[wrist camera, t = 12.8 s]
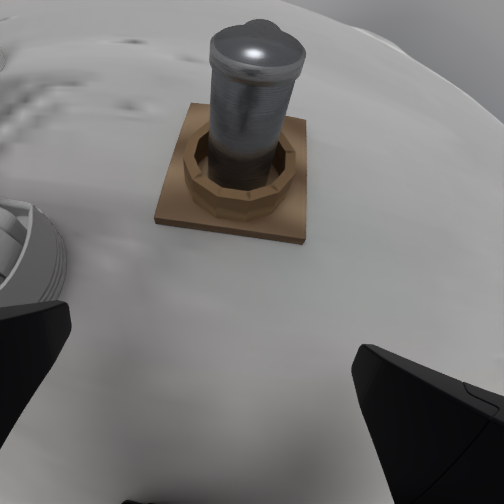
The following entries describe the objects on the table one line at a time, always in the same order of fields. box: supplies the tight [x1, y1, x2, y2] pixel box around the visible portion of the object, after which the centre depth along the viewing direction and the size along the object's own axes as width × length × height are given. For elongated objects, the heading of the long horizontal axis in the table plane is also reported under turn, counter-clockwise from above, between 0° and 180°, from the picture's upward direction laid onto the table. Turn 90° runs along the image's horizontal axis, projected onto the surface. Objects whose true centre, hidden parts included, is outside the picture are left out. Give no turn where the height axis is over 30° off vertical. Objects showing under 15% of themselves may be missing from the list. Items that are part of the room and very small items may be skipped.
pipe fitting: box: [208, 19, 306, 191], centre depth 21 cm, size 8×5×13 cm
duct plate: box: [154, 103, 307, 244], centre depth 27 cm, size 14×12×4 cm
